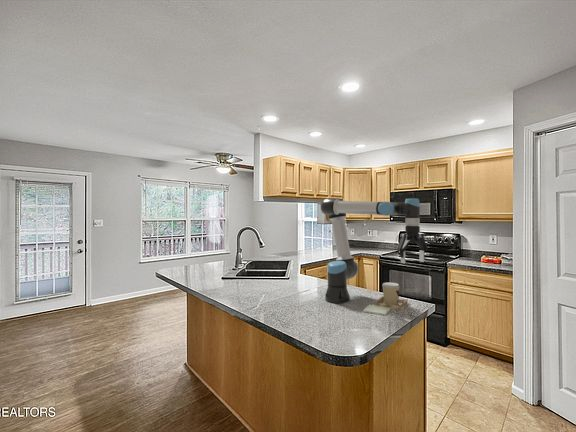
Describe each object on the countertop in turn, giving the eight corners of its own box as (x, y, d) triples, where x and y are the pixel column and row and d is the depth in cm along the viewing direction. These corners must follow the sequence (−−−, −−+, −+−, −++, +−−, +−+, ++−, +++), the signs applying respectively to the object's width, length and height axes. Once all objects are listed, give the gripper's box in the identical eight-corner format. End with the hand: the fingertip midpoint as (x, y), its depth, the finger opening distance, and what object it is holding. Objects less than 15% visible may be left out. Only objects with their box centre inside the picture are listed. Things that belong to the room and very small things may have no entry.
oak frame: (374, 306, 166) (374, 302, 166) (381, 299, 178) (381, 296, 178) (401, 310, 158) (401, 306, 158) (407, 303, 170) (407, 299, 170)
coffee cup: (401, 307, 162) (400, 286, 163) (383, 306, 164) (383, 285, 164) (398, 302, 172) (397, 282, 172) (381, 302, 174) (381, 282, 174)
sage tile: (362, 311, 157) (362, 310, 157) (369, 305, 167) (369, 304, 167) (385, 315, 150) (385, 313, 150) (391, 309, 160) (391, 307, 160)
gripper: (399, 226, 158) (399, 264, 158) (434, 225, 166) (434, 262, 167) (390, 225, 165) (390, 262, 165) (424, 224, 173) (424, 260, 174)
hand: (412, 262), depth 166 cm, fingers open, 13 cm apart
